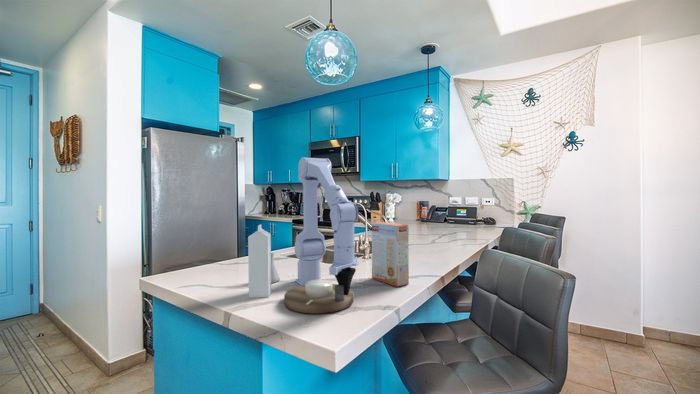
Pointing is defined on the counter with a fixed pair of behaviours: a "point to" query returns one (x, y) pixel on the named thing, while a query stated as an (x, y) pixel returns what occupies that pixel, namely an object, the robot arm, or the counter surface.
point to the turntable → (317, 300)
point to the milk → (259, 263)
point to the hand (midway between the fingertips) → (344, 294)
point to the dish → (318, 288)
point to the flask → (274, 271)
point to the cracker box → (390, 253)
